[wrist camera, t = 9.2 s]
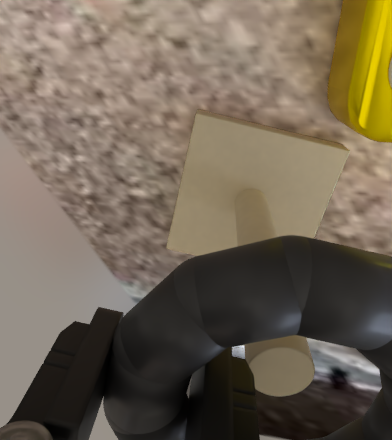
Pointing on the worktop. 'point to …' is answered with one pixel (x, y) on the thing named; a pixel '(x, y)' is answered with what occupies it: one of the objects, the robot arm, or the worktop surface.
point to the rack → (255, 212)
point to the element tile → (363, 69)
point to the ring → (248, 327)
